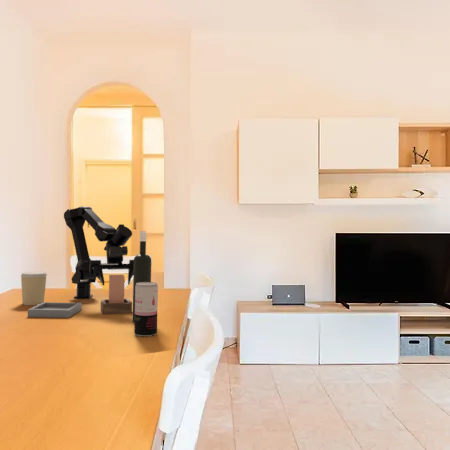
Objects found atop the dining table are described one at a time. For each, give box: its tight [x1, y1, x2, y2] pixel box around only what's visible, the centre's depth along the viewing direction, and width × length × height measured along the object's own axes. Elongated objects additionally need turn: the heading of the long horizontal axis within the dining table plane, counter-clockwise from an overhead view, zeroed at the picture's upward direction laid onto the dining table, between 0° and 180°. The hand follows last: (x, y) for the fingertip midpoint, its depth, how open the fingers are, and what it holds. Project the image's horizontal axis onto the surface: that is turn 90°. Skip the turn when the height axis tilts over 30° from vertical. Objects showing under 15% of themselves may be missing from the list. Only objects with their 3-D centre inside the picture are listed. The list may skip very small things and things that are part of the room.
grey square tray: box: [27, 301, 83, 319], centre depth 161 cm, size 14×14×2 cm
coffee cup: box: [20, 271, 48, 306], centre depth 179 cm, size 9×9×12 cm
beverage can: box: [133, 281, 159, 337], centre depth 134 cm, size 7×7×15 cm
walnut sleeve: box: [100, 298, 133, 315], centre depth 167 cm, size 10×10×4 cm
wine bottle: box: [132, 230, 152, 324], centre depth 151 cm, size 6×6×30 cm
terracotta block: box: [108, 274, 126, 304], centre depth 167 cm, size 5×5×13 cm
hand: (116, 284), depth 169 cm, fingers open, 9 cm apart
